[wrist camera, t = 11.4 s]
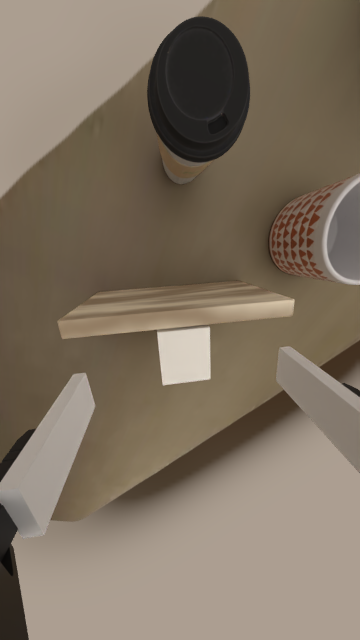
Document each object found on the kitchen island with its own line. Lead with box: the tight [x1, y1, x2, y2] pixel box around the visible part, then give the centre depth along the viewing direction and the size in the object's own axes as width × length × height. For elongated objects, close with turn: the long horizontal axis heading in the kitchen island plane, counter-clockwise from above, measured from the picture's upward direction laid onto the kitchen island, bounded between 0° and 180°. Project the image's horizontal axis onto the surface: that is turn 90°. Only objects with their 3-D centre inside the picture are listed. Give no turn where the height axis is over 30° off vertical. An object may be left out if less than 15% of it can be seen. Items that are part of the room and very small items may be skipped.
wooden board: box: [57, 281, 295, 339], centre depth 30 cm, size 8×26×16 cm, turn 93°
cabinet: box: [157, 324, 210, 385], centre depth 28 cm, size 8×6×9 cm
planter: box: [269, 173, 360, 285], centre depth 31 cm, size 14×14×13 cm
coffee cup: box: [147, 17, 250, 184], centre depth 24 cm, size 9×9×15 cm
